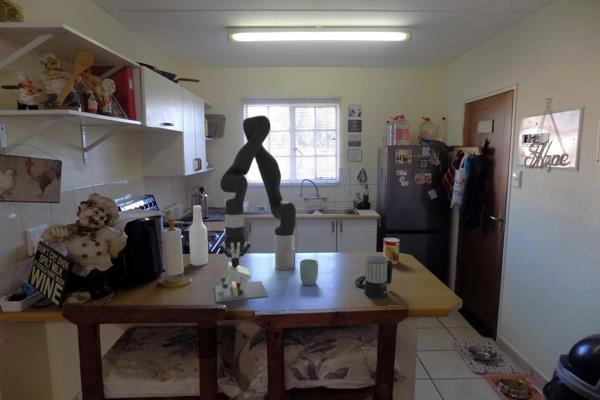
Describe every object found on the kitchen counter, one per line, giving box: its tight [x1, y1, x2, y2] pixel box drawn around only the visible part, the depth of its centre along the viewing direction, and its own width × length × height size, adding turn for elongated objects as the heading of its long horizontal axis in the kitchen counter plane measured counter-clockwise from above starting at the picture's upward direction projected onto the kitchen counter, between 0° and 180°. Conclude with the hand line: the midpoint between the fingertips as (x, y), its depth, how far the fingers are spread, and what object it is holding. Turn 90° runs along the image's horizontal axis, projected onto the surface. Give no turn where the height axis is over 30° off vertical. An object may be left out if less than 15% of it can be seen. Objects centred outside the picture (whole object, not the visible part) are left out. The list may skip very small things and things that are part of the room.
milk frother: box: [354, 255, 394, 299], centre depth 144 cm, size 14×16×15 cm
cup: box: [299, 258, 319, 287], centre depth 151 cm, size 8×8×10 cm
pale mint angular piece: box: [220, 261, 252, 294], centre depth 142 cm, size 9×9×9 cm
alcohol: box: [188, 204, 209, 267], centre depth 177 cm, size 9×9×30 cm
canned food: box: [382, 237, 400, 265], centre depth 181 cm, size 8×8×12 cm
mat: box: [214, 280, 269, 303], centre depth 143 cm, size 20×16×3 cm
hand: (235, 266), depth 141 cm, fingers closed
